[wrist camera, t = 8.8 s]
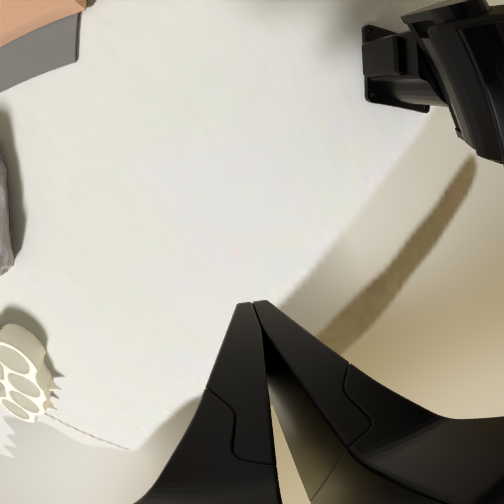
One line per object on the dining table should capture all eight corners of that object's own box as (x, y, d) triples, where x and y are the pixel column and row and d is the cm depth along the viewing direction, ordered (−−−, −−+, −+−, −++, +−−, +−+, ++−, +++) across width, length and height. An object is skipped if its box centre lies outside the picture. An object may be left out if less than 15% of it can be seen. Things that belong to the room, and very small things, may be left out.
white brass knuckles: (-33, 285, 19) (72, 350, 24) (-23, 372, 24) (57, 417, 29) (-48, 302, 16) (63, 373, 21) (-30, 387, 21) (52, 435, 26)
